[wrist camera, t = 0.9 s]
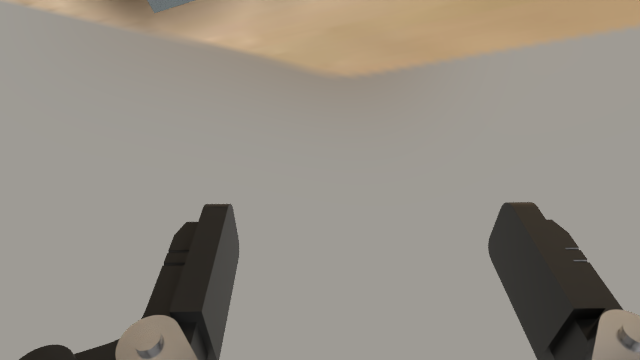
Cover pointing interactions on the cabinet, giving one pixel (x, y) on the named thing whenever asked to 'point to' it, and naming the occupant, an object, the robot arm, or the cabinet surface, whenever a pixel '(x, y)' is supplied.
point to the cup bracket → (165, 4)
